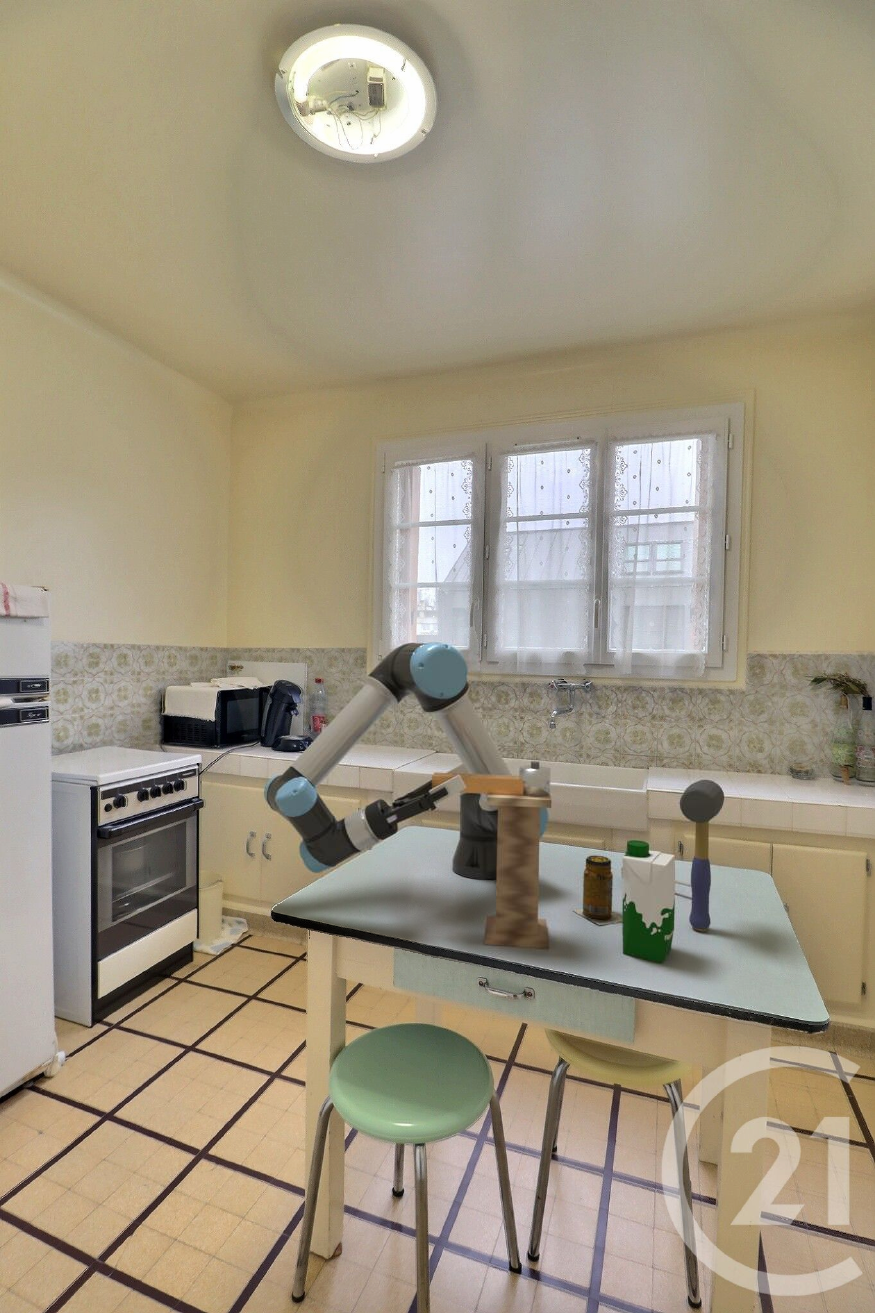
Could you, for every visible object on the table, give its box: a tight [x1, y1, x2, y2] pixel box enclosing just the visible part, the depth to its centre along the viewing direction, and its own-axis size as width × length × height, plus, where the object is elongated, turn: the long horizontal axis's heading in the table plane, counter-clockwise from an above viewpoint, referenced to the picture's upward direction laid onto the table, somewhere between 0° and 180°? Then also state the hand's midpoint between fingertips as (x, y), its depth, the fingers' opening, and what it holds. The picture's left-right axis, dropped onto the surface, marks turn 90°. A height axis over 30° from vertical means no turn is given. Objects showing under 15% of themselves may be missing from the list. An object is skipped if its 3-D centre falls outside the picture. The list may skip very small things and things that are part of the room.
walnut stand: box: [484, 794, 552, 950], centre depth 128 cm, size 12×10×28 cm
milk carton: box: [621, 839, 676, 964], centre depth 122 cm, size 9×9×20 cm
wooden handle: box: [431, 760, 551, 797], centre depth 128 cm, size 23×6×6 cm, turn 83°
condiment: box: [573, 854, 622, 926], centre depth 138 cm, size 7×8×12 cm
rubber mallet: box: [679, 779, 725, 932], centre depth 132 cm, size 12×8×30 cm, turn 149°
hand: (465, 774), depth 129 cm, fingers open, 13 cm apart
